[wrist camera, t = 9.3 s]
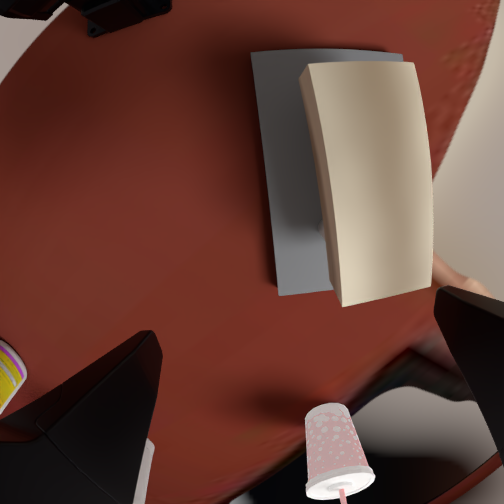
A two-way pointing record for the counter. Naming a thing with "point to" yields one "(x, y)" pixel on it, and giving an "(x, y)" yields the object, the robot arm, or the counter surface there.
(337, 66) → the shelf board
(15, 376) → the supplement bottle
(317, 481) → the beverage cup
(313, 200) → the peg stand
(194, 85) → the counter surface
